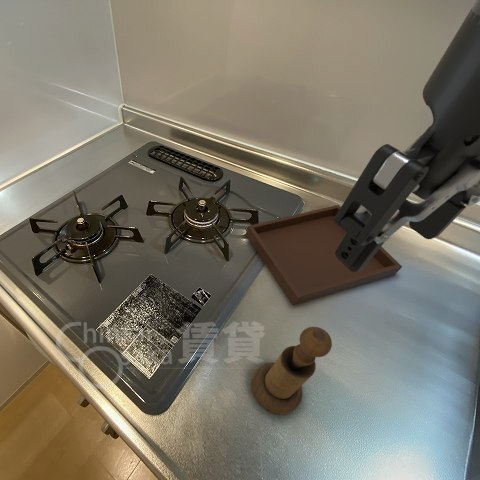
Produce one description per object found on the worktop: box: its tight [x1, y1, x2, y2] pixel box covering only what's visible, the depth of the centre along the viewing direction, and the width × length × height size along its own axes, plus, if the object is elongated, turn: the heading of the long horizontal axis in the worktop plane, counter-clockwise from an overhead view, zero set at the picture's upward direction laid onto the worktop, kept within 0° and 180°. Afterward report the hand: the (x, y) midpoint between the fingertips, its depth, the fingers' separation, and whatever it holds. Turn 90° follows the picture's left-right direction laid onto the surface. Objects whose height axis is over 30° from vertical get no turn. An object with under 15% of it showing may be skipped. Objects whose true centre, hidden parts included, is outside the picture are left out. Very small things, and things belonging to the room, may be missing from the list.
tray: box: [245, 204, 403, 306], centre depth 61 cm, size 22×18×3 cm
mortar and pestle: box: [250, 326, 333, 416], centre depth 38 cm, size 7×6×18 cm
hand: (385, 246), depth 26 cm, fingers open, 8 cm apart
